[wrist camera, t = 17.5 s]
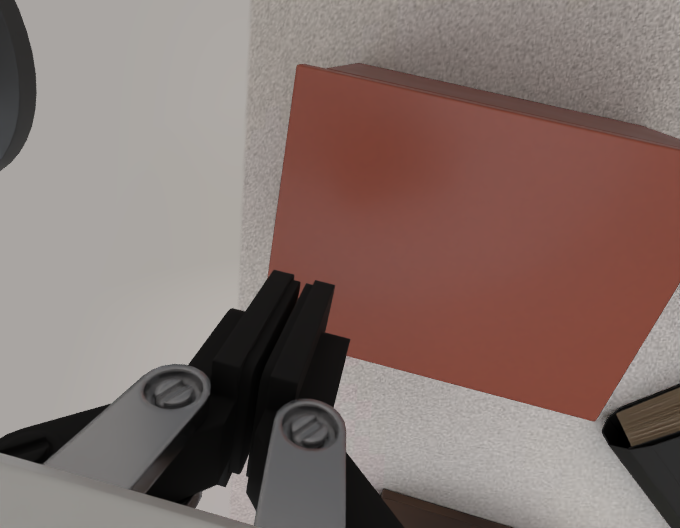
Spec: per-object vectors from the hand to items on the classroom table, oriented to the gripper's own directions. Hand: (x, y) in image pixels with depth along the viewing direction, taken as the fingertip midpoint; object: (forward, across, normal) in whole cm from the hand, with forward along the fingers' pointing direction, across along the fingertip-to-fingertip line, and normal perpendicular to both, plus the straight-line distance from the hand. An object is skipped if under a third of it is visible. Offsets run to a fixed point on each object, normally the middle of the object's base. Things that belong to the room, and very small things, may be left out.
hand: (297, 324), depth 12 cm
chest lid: (+8, -5, 0) cm, 9 cm away
